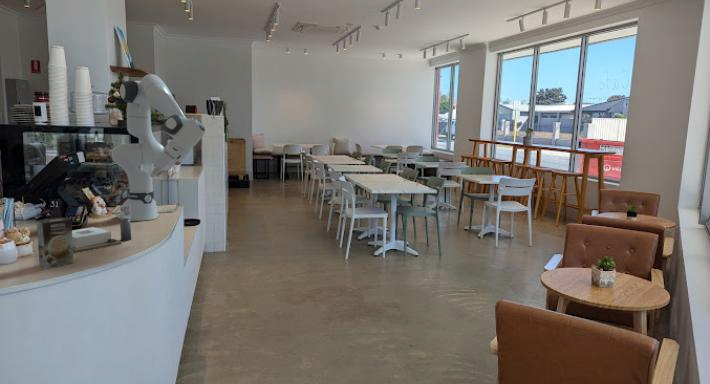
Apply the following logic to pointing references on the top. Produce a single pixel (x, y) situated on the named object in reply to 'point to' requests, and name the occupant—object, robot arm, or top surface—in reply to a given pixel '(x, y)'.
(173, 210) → the top surface
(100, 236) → the socket housing
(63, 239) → the coffee box
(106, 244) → the socket board
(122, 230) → the plug
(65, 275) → the top surface
